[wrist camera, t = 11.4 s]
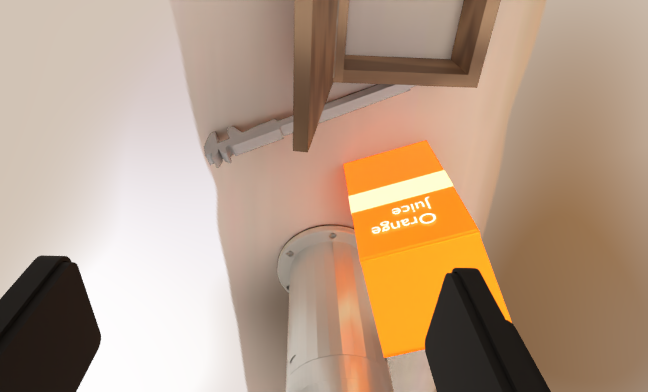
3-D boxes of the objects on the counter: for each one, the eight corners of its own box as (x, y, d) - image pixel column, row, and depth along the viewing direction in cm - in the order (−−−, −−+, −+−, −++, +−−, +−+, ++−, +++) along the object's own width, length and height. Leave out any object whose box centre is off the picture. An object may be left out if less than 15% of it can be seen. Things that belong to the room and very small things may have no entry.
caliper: (215, 140, 39) (201, 173, 34) (210, 131, 39) (196, 162, 33) (419, 81, 37) (439, 107, 31) (418, 70, 36) (437, 94, 31)
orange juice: (342, 163, 41) (368, 322, 24) (427, 138, 40) (515, 288, 23) (360, 220, 45) (393, 389, 29) (437, 199, 44) (518, 363, 27)
